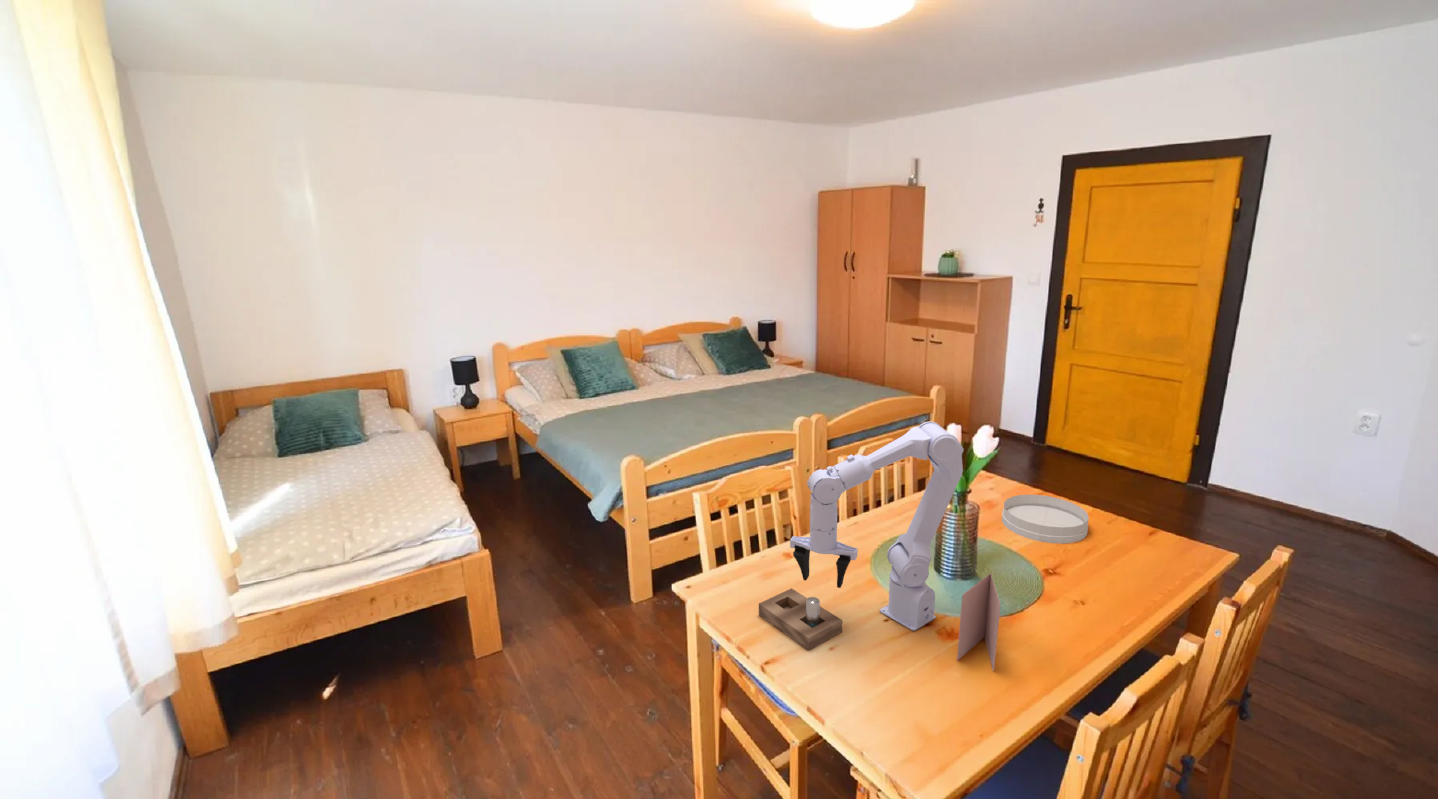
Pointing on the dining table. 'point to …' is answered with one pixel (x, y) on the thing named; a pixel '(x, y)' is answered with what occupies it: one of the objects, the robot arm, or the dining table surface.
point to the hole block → (799, 619)
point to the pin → (812, 611)
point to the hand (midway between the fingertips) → (822, 581)
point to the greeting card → (979, 618)
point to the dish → (1045, 519)
